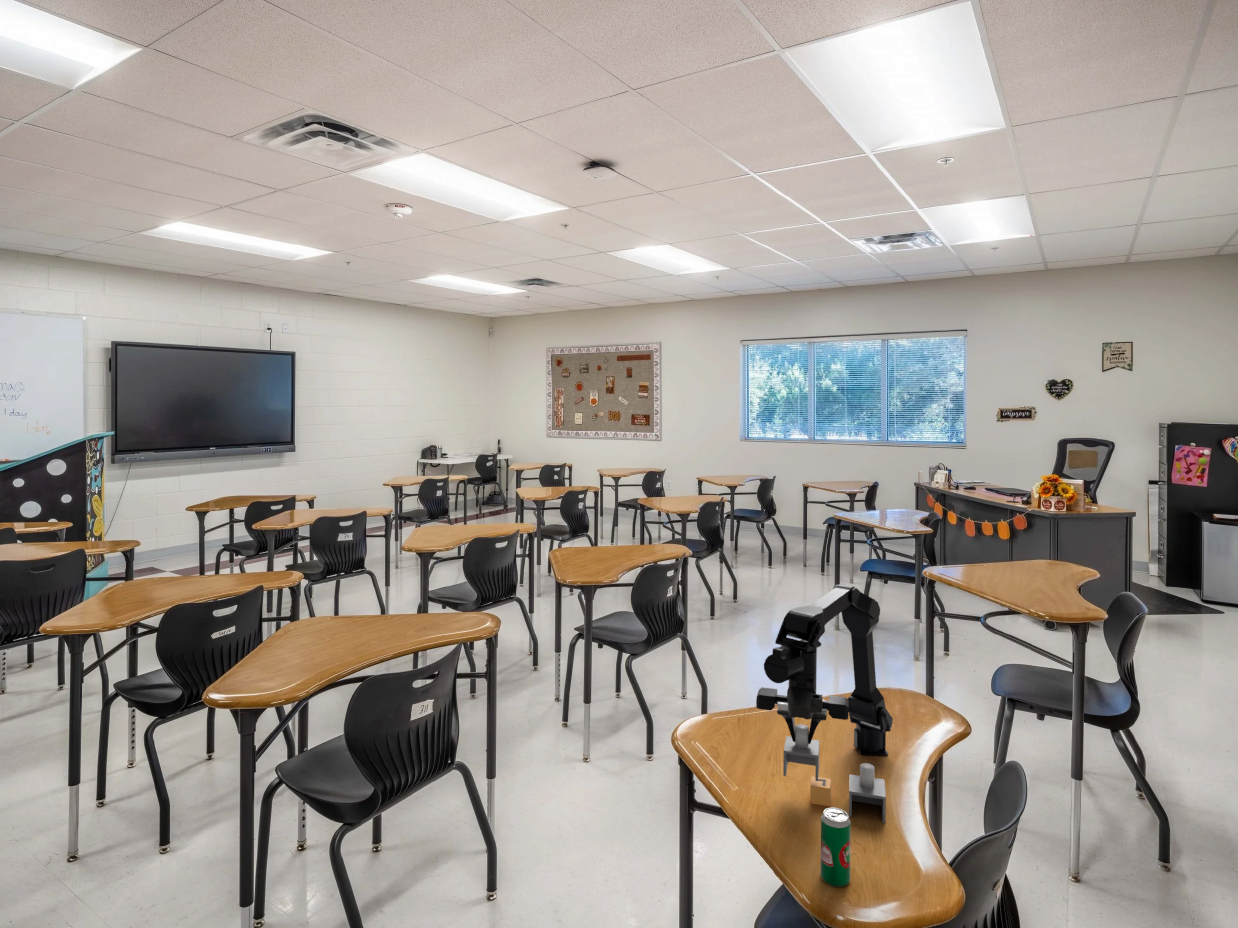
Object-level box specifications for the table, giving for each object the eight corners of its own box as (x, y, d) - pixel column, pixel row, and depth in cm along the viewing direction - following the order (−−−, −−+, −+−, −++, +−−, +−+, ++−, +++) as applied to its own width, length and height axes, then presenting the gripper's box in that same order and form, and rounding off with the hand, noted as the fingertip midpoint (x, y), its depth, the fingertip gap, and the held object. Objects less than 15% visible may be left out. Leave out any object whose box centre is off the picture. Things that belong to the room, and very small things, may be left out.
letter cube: (830, 796, 148) (830, 778, 147) (829, 806, 144) (830, 787, 144) (811, 793, 149) (811, 775, 149) (810, 803, 145) (810, 784, 145)
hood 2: (884, 804, 144) (884, 760, 144) (885, 822, 138) (886, 777, 137) (849, 798, 147) (849, 755, 146) (848, 816, 140) (849, 772, 139)
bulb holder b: (819, 765, 148) (819, 722, 148) (817, 781, 141) (818, 736, 141) (786, 760, 150) (786, 718, 150) (783, 775, 144) (783, 731, 143)
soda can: (816, 870, 124) (816, 806, 123) (843, 868, 124) (843, 805, 123) (826, 889, 118) (827, 823, 118) (855, 887, 119) (855, 821, 118)
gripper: (753, 678, 140) (752, 752, 141) (849, 689, 134) (847, 766, 135) (759, 660, 151) (759, 729, 151) (848, 670, 145) (847, 741, 146)
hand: (801, 741), depth 146 cm, fingers closed on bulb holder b, 3 cm apart
